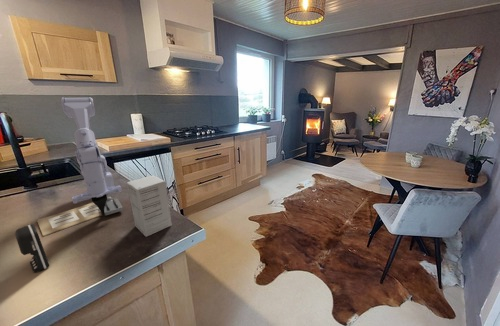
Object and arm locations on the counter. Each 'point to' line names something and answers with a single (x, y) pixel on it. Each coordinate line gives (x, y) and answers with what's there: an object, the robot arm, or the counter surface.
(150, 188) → the supplement box
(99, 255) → the counter surface
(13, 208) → the counter surface
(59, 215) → the label board
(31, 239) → the battery charger
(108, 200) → the grey slotted block
